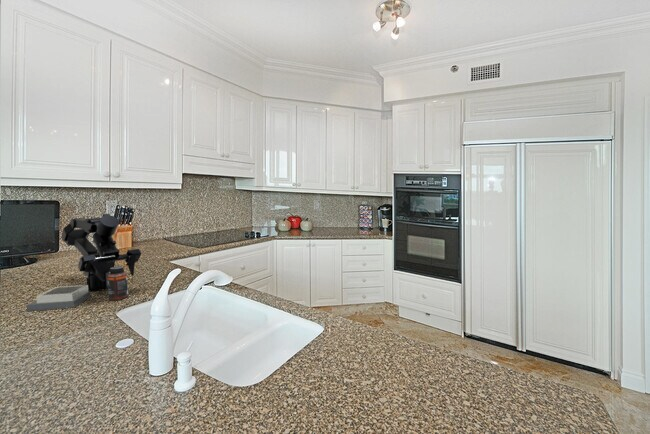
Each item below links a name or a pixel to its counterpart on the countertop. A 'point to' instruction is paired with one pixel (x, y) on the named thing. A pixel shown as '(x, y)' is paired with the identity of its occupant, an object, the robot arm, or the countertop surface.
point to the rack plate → (60, 298)
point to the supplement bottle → (117, 283)
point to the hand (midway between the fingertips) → (118, 277)
